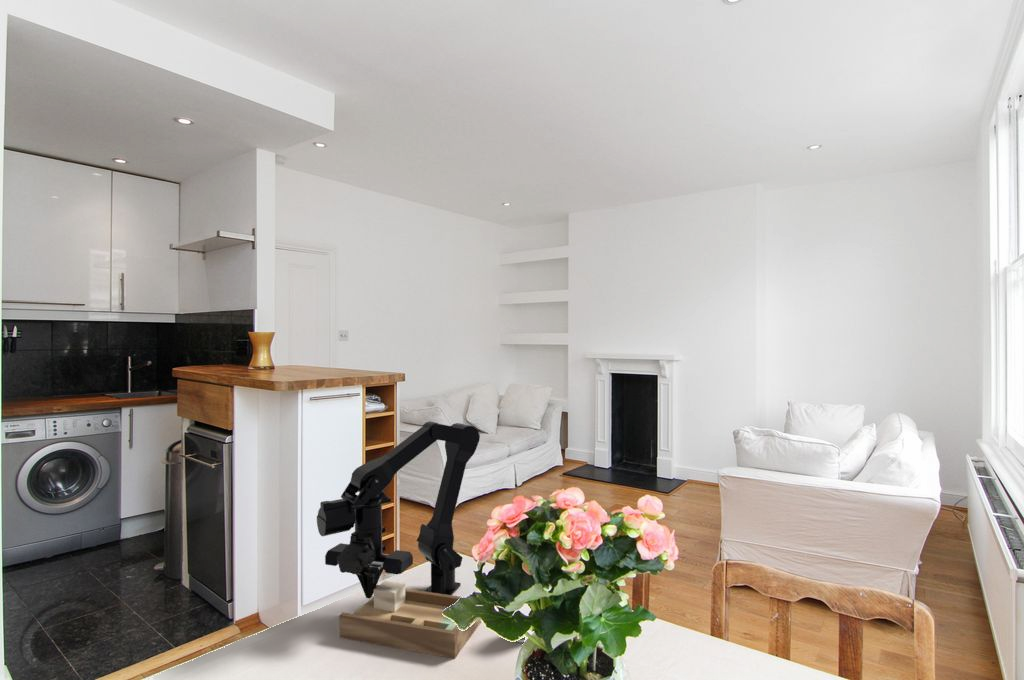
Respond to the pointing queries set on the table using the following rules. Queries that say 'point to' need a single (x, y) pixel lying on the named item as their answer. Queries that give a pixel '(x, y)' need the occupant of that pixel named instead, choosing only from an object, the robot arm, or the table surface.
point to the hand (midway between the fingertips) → (369, 597)
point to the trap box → (409, 625)
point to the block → (389, 596)
